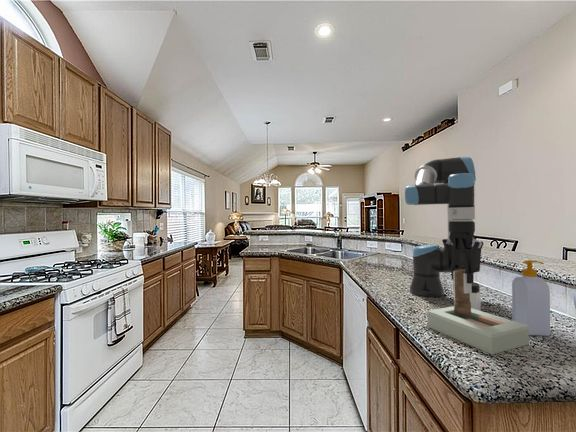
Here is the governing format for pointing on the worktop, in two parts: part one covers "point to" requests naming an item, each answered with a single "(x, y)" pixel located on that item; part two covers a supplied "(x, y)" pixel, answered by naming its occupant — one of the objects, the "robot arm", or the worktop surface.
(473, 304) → the jar
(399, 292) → the worktop surface
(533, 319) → the soap bottle
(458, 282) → the bolt peg
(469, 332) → the keyhole box
